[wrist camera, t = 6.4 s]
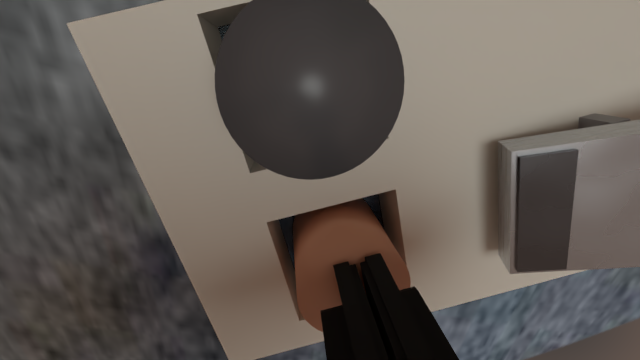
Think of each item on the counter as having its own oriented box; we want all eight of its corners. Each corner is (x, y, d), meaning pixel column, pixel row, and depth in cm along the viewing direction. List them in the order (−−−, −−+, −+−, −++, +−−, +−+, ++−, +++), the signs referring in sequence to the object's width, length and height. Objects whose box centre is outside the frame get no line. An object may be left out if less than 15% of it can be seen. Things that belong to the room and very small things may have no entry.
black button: (261, 148, 11) (249, 197, 7) (226, 32, 10) (183, 6, 6) (365, 123, 11) (413, 155, 7) (345, 4, 10) (391, -42, 6)
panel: (240, 314, 16) (226, 393, 12) (120, 34, 11) (31, 16, 7) (656, 204, 17) (770, 246, 13) (725, -109, 12) (948, -197, 8)
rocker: (498, 254, 13) (511, 276, 11) (497, 140, 11) (513, 153, 10) (745, 236, 11) (792, 261, 10) (796, 95, 9) (862, 103, 8)
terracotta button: (303, 271, 15) (311, 348, 11) (282, 201, 14) (283, 260, 10) (379, 251, 15) (416, 320, 11) (367, 180, 14) (403, 229, 10)
